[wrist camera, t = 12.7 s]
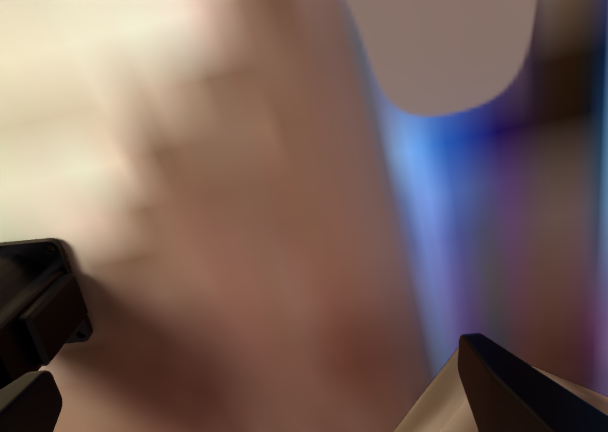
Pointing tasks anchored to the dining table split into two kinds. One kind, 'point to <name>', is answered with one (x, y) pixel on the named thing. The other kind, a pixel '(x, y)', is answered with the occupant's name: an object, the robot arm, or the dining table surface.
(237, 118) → the dining table surface
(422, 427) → the base board
